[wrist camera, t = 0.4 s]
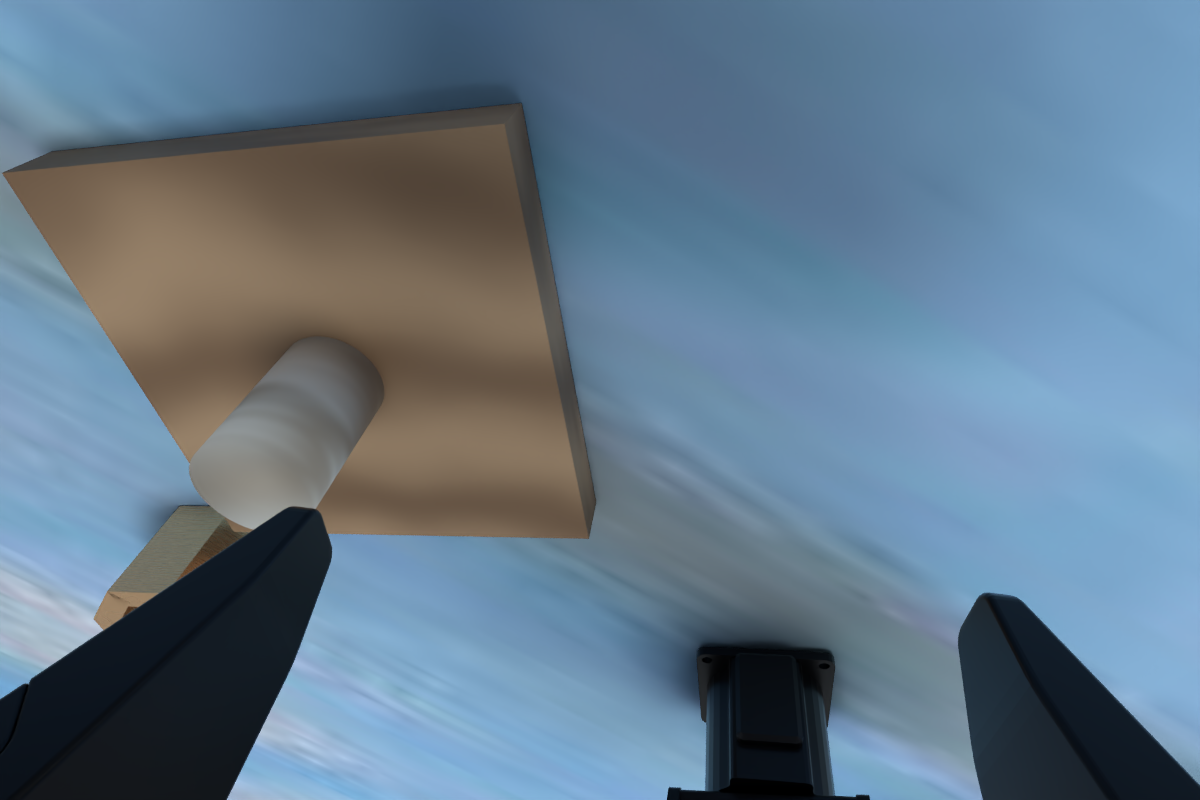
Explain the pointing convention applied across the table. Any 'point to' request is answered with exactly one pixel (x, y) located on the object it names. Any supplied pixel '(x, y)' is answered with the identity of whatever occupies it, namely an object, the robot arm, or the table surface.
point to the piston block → (337, 317)
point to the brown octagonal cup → (167, 559)
